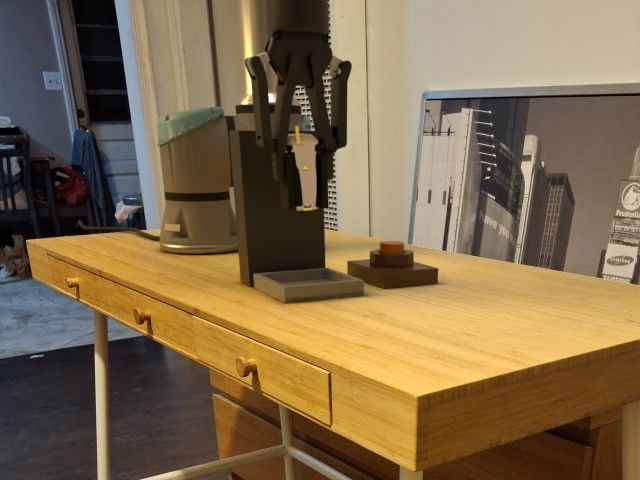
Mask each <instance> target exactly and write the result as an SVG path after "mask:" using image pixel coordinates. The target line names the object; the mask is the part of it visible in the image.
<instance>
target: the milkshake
mask: <svg viewBox="0 0 640 480" xmlns="http://www.w3.org/2000/svg"><path fill="white" fill-rule="evenodd" d="M285 154H292V167H293V190H294V210H296V211H308V210H316V209H317V208H318V140H317V138H316V137H314V136H313V135H311V134H303V133H302V134H299V127H298V126H295V134H288V138H287V145H286V151H285Z"/></svg>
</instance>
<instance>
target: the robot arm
mask: <svg viewBox="0 0 640 480" xmlns="http://www.w3.org/2000/svg"><path fill="white" fill-rule="evenodd" d="M329 5H330V4H329V2H328V0H236V8H237V9H236V11H237V25H238V38H239V52H240V53H239V55H240V67H241V69H240V70H241V81H242V83H241V84H242V94H241V96H240V97H239V98H238V100H237V101H236V102H235V103H234V106H235V115H225V111H224V109H223V107H222V106H221V105H219V106H211V107H202V108H196V109H195V108H193V109H188V110H182V111H181V110H180V111H175V112H174V111H173V112H167V113H164V114H162V115H161V116H160V117H159V118H158V119H157V122H156V123H157V124H156V128H157V143H156V144H157V147H158V148H159V157H160V166H161V176H162V186H163V192H164V202H165V203H164V204H165V206H164V212H163V217H162V223H161V228H160V233H159V235H154V234H151V233H147V232H145V231H143V230H140V229H139V228H135V227H124V226H123V227H122V226H86V225H85V224H84V223H83V220H80V219H79V220H77V223H76V227H75V228H76V229H80V228H81V229H82V230H84V231H89V232H130V233H136V234H138V235H139V236H141V237H144V238H147V239H150V240H152V241H154V240H155V241H159V248H160V250H161V251H163V252H165V253H172V254H188V255H192V254H193V255H199V254H200V255H202V254H203V255H205V254H221V253H229V252H235V251H238V239H237V226H236V214H235V211H234V210H233V207H232V204H231V192H230V188H234V187H233V174H232V161H231V148H230V135H229V130H255V132H256V143H257V145H258V147H260V148H264V149H266V150H268V151H269V152H271V154H272V165H273V178H274V180H275V181H280V194H281V208H283V209H288V210H294V190H293V167H292V154H285V151H286V145H287V138H288V131H295V126H298V127H299V131H312V124H313V128H314V131H315V134H316V138H317V140H318V148H319V151H320V154H319V153H318V207H319V208H324V209H329V206H330V205H329V181H333V180H334V176H335V173H334V171H335V169H334V154H336V153H337V151H338V150H340V149H342V148H346V147H347V145H348V82H349V79H350V75H351V73H352V68H353V65H352V62H351V61H350V60H348V59H347V60H342V59H340V58H339V57H337V56H335V55H333V50H332V48H331V45H330V42H329V40H330V39H329V38H330V10H329V9H330V8H329V7H330V6H329ZM328 68H329V75H330V78H331V80H330V118H329V111H328V107H327V101H326V96H325V92H326V88H325V82H324V78H323V77H324V75H325V73H326V71H327V69H328ZM297 87H302V88H304V92H305V95H306V96H307V100H308V104H309V110H310V114H311V118H312V122H311V118H310V117H309V116H306V114H302V104H301V102H300V101H299V100H298V99H297V98H296V97H295V96H294V95H295V94H296V89H297ZM271 131H272V132H271Z"/></svg>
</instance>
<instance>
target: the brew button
mask: <svg viewBox="0 0 640 480" xmlns="http://www.w3.org/2000/svg"><path fill="white" fill-rule="evenodd" d="M379 249H380V253H384V254H402V253H404V249H405V241H404V242H403V241H399V240H384V241H380V242H379Z"/></svg>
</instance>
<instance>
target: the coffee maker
mask: <svg viewBox="0 0 640 480" xmlns="http://www.w3.org/2000/svg"><path fill="white" fill-rule="evenodd" d="M271 132H272V131H271ZM302 133H303V134H311V135H313V136H314V137H316V134H315V130H311V131H299V134H302ZM288 134H295V131H288ZM229 135H230V148H231V161H232V174H233V187H232V188H233V198H234V200H233V201H234V214H235V217H236V226H237V239H238V250H237V252H238V265H239V278H240V283H241V284H244V285H246V286H248V287H250V288H253V289H255V290H258V291H259V292H261V293H264V294H266V295H267V296H270V297H271V298H274V299H276V300H278V301H280V302H282V303H284V304H290V303H299V302H310V301H321V300H329V299H339V298H340V299H341V298H350V297H361V296H365V282H364V280H362V279H359V278H356V277H353V276H350V275H347V273H344V272H341V271H338V270H335V269H333V268H330V267H326V265H327V264H326V236H325V235H326V234H325V233H326V231H325V208H319V207H318V208H317V209H316V210H308V211H296V210H288V209H283V208H281V194H280V181H275V180H274V178H273V165H272V154H271V152H269V151H268V150H266V149H264V148H260V147H258V145H257V143H256V132H255V130H229ZM318 153H319V154H320V151H319V148H318Z"/></svg>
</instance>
